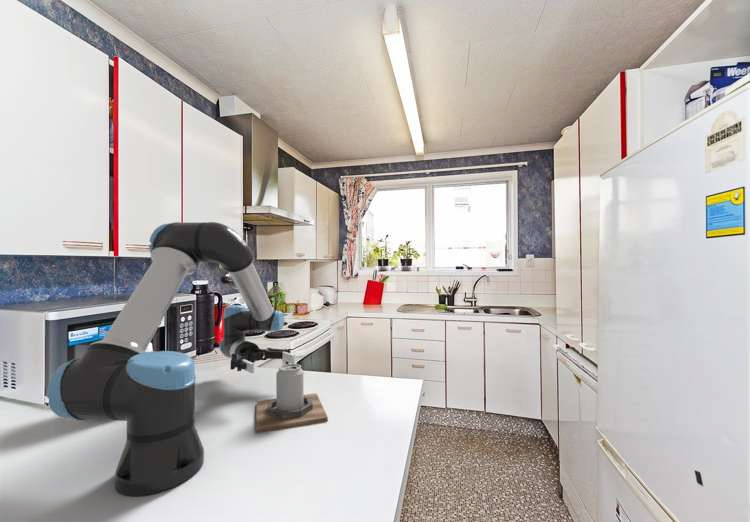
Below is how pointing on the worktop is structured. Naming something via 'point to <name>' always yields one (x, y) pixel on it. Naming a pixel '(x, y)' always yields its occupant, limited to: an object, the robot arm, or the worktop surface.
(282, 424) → the ring board
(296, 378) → the can
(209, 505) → the worktop surface
